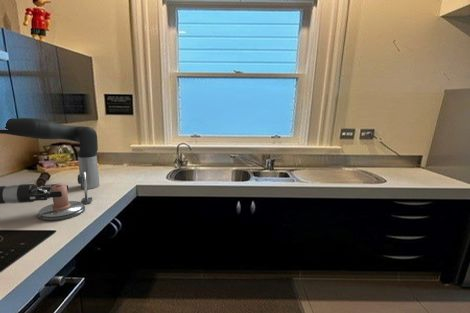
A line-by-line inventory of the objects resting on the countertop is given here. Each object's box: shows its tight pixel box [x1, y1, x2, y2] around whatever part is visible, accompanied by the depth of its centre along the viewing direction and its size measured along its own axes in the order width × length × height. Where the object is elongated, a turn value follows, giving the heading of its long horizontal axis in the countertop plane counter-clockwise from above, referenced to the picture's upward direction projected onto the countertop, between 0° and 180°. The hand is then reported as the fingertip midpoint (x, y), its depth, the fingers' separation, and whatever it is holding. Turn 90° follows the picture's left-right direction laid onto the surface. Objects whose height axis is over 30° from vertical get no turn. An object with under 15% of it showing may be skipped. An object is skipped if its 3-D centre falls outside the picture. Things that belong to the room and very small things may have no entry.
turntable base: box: [37, 204, 86, 222], centre depth 118 cm, size 17×17×1 cm
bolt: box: [35, 171, 52, 187], centre depth 159 cm, size 6×5×15 cm
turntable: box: [38, 200, 85, 218], centre depth 118 cm, size 16×16×1 cm
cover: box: [51, 183, 71, 211], centre depth 117 cm, size 7×7×10 cm
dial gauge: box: [77, 172, 94, 205], centre depth 129 cm, size 4×4×15 cm
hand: (65, 190), depth 117 cm, fingers open, 8 cm apart
